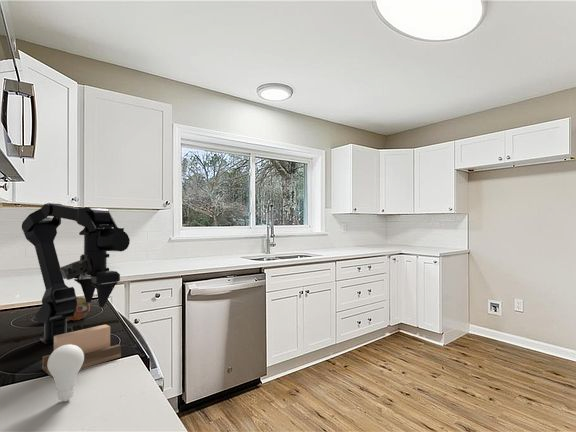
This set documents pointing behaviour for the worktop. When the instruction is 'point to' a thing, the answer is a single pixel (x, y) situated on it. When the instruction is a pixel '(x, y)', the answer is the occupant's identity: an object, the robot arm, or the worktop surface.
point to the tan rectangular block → (86, 339)
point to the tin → (80, 309)
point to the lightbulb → (65, 369)
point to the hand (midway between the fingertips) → (94, 304)
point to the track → (92, 357)
